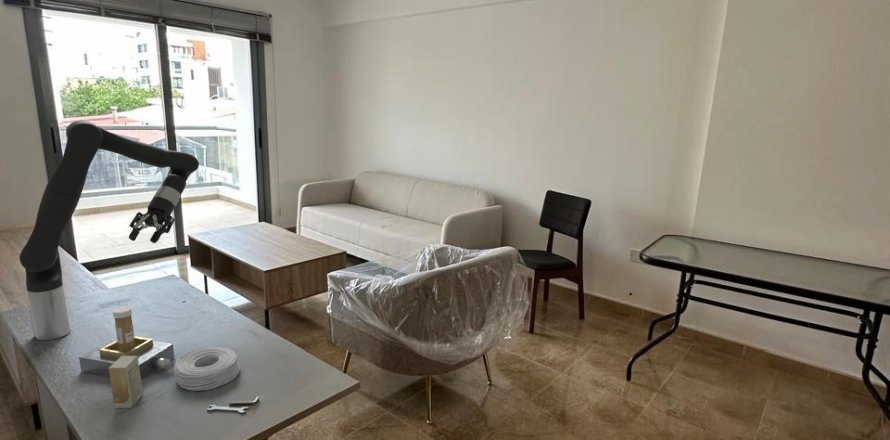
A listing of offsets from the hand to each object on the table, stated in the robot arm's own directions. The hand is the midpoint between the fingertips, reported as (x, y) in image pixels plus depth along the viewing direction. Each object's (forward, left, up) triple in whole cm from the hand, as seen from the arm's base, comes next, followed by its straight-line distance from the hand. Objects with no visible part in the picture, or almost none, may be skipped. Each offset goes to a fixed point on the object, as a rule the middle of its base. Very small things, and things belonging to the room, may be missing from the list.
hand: (141, 240), depth 162 cm
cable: (+39, -20, -33) cm, 55 cm away
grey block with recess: (+14, -22, -33) cm, 42 cm away
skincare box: (+27, -37, -33) cm, 56 cm away
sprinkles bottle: (+12, -21, -28) cm, 37 cm away
